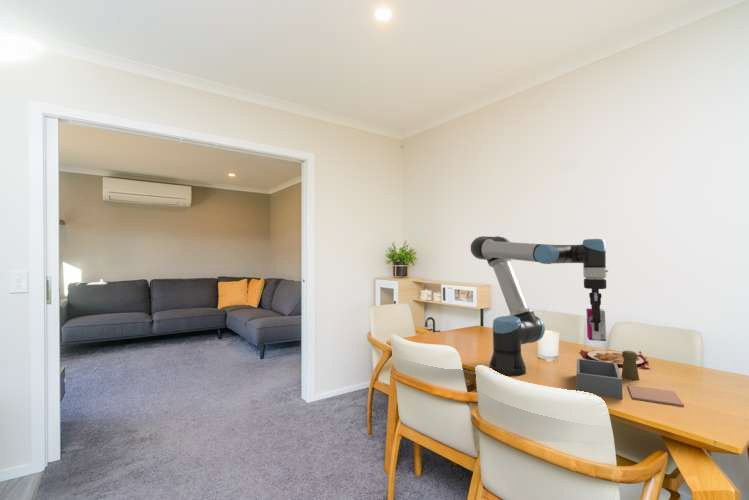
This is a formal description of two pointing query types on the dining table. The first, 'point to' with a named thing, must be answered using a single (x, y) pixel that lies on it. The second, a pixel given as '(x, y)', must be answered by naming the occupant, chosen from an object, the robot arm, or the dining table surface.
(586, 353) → the plate with food
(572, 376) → the dining table surface
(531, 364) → the dining table surface
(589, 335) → the supplement box
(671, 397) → the mat
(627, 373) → the cork
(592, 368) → the rectangular frame
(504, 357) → the robot arm
